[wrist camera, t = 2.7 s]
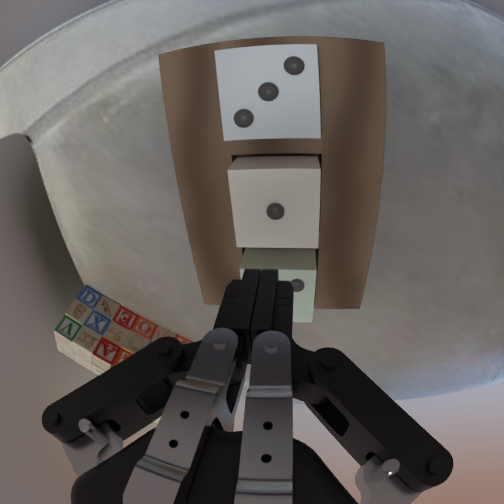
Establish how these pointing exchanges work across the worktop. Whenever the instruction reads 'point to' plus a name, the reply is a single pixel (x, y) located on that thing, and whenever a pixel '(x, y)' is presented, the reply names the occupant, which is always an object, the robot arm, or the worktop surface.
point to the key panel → (325, 148)
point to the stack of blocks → (104, 332)
